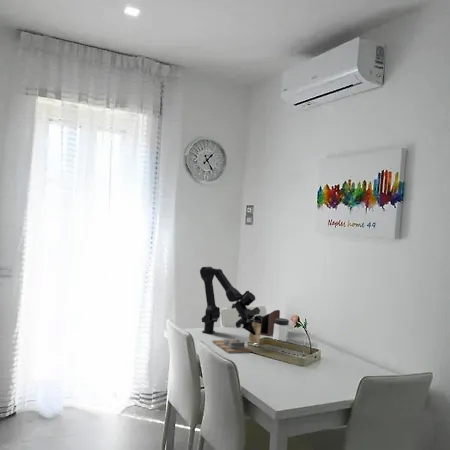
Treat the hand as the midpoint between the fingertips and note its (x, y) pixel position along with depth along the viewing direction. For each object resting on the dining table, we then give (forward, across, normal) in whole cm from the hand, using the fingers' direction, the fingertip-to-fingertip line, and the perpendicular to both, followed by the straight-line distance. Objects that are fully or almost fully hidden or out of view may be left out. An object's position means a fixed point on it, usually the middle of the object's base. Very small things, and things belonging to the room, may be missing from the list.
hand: (256, 334), depth 267 cm
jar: (+5, +25, +5) cm, 26 cm away
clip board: (0, -13, +9) cm, 16 cm away
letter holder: (-7, +34, +16) cm, 38 cm away
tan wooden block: (+4, 0, +6) cm, 7 cm away
